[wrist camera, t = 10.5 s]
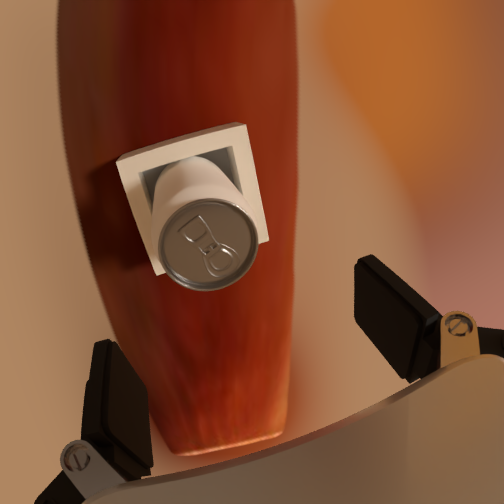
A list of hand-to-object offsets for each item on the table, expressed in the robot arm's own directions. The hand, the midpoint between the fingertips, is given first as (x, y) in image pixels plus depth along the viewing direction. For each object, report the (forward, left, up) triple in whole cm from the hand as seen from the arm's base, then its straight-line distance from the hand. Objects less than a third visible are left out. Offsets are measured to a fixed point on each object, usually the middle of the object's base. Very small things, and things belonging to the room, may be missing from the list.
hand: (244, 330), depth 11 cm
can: (0, 0, -19) cm, 19 cm away
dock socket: (0, 0, -20) cm, 20 cm away
